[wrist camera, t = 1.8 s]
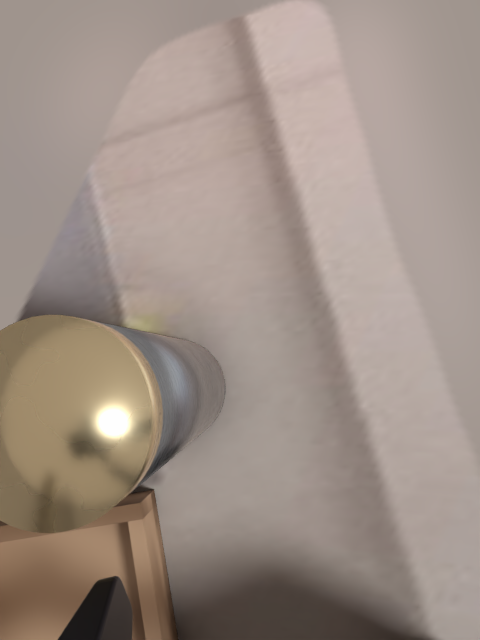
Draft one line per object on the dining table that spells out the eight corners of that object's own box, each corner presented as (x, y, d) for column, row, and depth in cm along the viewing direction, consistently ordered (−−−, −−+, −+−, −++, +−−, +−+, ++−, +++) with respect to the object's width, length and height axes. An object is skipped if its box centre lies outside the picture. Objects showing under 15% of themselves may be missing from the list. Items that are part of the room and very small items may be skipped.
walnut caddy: (187, 695, 22) (176, 732, 20) (0, 719, 23) (-30, 755, 21) (154, 489, 24) (140, 502, 21) (-23, 519, 24) (-53, 535, 22)
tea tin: (234, 430, 23) (168, 514, 10) (136, 447, 24) (-39, 548, 11) (215, 330, 24) (132, 295, 11) (121, 349, 25) (-62, 337, 12)
